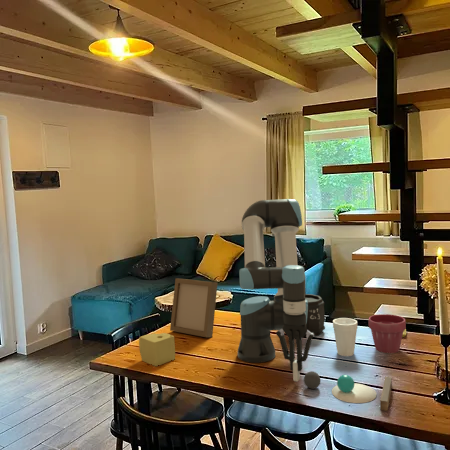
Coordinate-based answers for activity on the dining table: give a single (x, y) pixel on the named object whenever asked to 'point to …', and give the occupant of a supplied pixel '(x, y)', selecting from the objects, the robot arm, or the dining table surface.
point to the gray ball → (312, 380)
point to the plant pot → (387, 332)
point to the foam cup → (345, 335)
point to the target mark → (355, 394)
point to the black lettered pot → (315, 314)
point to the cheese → (157, 348)
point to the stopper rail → (386, 394)
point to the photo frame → (194, 307)
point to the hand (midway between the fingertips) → (296, 379)
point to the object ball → (345, 383)
